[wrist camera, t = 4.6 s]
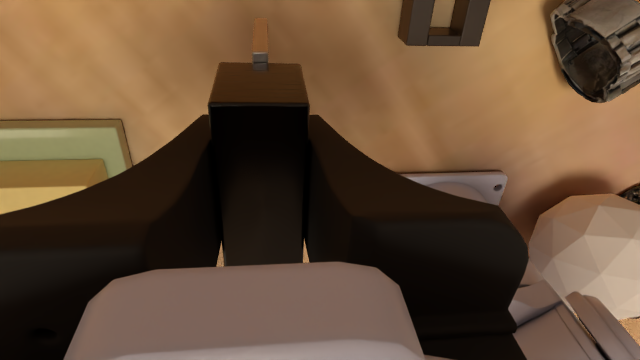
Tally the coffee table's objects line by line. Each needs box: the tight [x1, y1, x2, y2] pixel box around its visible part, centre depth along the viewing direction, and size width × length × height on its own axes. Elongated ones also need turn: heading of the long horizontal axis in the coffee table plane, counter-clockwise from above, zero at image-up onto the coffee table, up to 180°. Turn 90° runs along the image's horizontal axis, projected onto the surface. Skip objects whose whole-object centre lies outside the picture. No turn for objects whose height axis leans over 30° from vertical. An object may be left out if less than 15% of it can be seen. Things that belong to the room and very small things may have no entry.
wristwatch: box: [550, 0, 640, 103], centre depth 19 cm, size 3×5×5 cm
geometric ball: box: [528, 193, 640, 320], centre depth 26 cm, size 8×8×8 cm
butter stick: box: [0, 159, 108, 214], centre depth 21 cm, size 4×6×2 cm, turn 88°
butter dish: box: [0, 120, 132, 179], centre depth 22 cm, size 7×13×1 cm, turn 87°
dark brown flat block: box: [208, 18, 310, 267], centre depth 12 cm, size 6×2×6 cm, turn 177°
